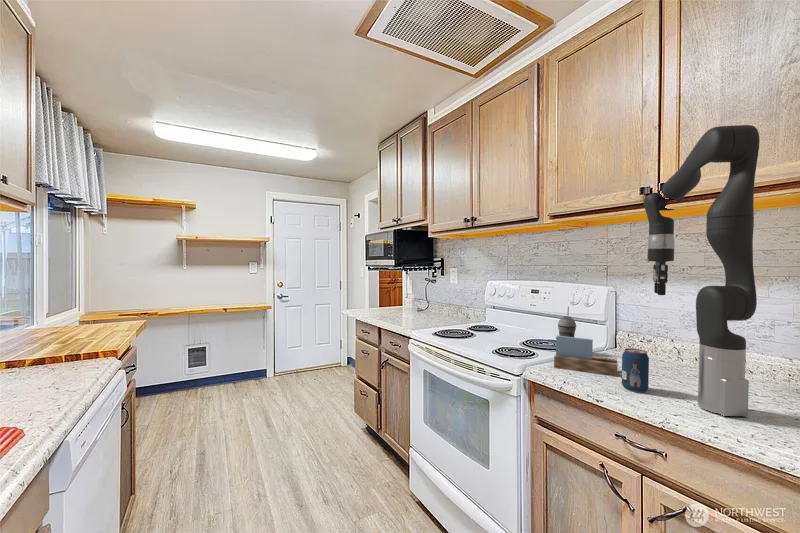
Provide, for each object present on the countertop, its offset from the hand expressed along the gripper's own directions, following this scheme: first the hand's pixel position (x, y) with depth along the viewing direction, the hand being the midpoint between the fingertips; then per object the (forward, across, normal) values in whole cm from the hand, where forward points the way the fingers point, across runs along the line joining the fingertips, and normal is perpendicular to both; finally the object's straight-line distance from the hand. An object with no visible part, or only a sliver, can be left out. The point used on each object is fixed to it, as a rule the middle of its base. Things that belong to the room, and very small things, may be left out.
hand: (659, 294), depth 125 cm
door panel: (+27, -7, +26) cm, 38 cm away
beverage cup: (+28, +15, +30) cm, 44 cm away
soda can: (+28, -22, +8) cm, 37 cm away
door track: (+28, -7, +22) cm, 37 cm away
